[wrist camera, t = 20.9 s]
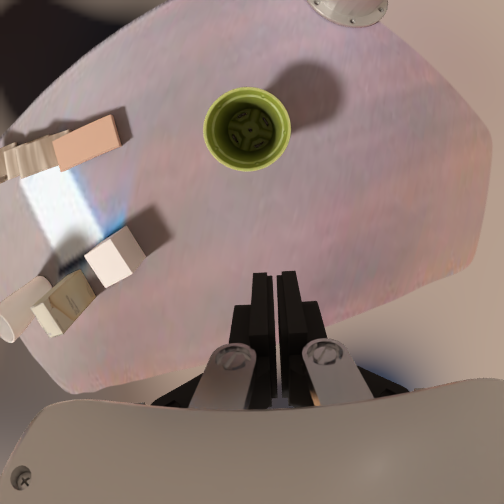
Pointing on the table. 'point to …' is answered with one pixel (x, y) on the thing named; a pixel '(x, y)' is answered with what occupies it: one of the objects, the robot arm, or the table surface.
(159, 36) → the table surface
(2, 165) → the domino
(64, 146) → the domino
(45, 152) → the domino
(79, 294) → the skincare box
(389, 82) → the table surface
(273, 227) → the table surface
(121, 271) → the white cube
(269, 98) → the plant pot
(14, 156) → the domino
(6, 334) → the drinking glass
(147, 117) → the table surface
